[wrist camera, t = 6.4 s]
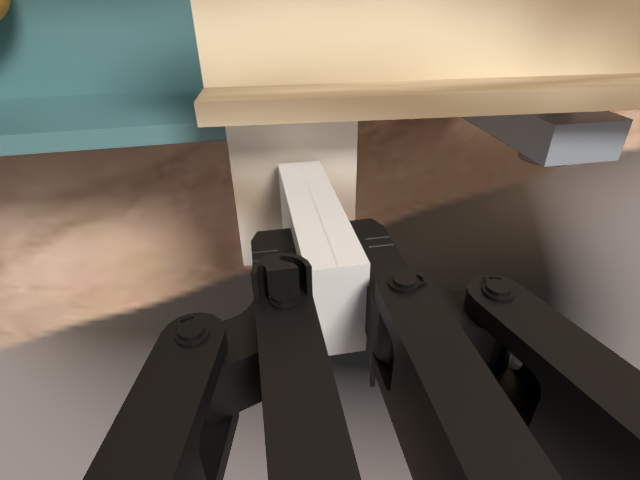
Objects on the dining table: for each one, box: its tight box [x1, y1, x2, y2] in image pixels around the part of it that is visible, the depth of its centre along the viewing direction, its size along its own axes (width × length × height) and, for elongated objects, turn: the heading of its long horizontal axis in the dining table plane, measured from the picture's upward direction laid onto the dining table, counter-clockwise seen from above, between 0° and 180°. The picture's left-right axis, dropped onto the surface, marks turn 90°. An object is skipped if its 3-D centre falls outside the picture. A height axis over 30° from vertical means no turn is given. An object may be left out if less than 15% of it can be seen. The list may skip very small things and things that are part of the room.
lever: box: [190, 0, 640, 266], centre depth 14 cm, size 14×27×4 cm, turn 91°
